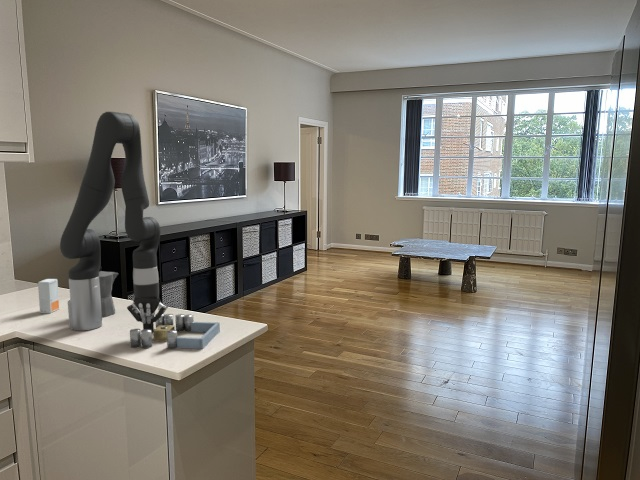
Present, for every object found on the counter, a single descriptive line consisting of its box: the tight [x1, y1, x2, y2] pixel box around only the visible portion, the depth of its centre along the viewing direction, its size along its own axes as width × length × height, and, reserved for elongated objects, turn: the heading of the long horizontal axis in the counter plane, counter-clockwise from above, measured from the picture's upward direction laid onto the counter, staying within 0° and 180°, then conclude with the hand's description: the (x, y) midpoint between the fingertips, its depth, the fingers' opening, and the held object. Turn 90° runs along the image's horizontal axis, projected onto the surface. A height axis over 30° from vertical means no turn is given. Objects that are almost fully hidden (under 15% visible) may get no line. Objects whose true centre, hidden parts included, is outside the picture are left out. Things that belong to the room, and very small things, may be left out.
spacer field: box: [129, 313, 195, 350], centre depth 152 cm, size 14×19×5 cm
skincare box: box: [37, 278, 60, 314], centre depth 181 cm, size 6×4×12 cm
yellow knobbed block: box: [153, 325, 176, 342], centre depth 152 cm, size 5×5×4 cm
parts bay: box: [176, 321, 221, 350], centre depth 151 cm, size 10×16×3 cm, turn 174°
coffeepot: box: [99, 266, 119, 318], centre depth 176 cm, size 15×9×18 cm, turn 129°
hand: (148, 334), depth 153 cm, fingers closed
